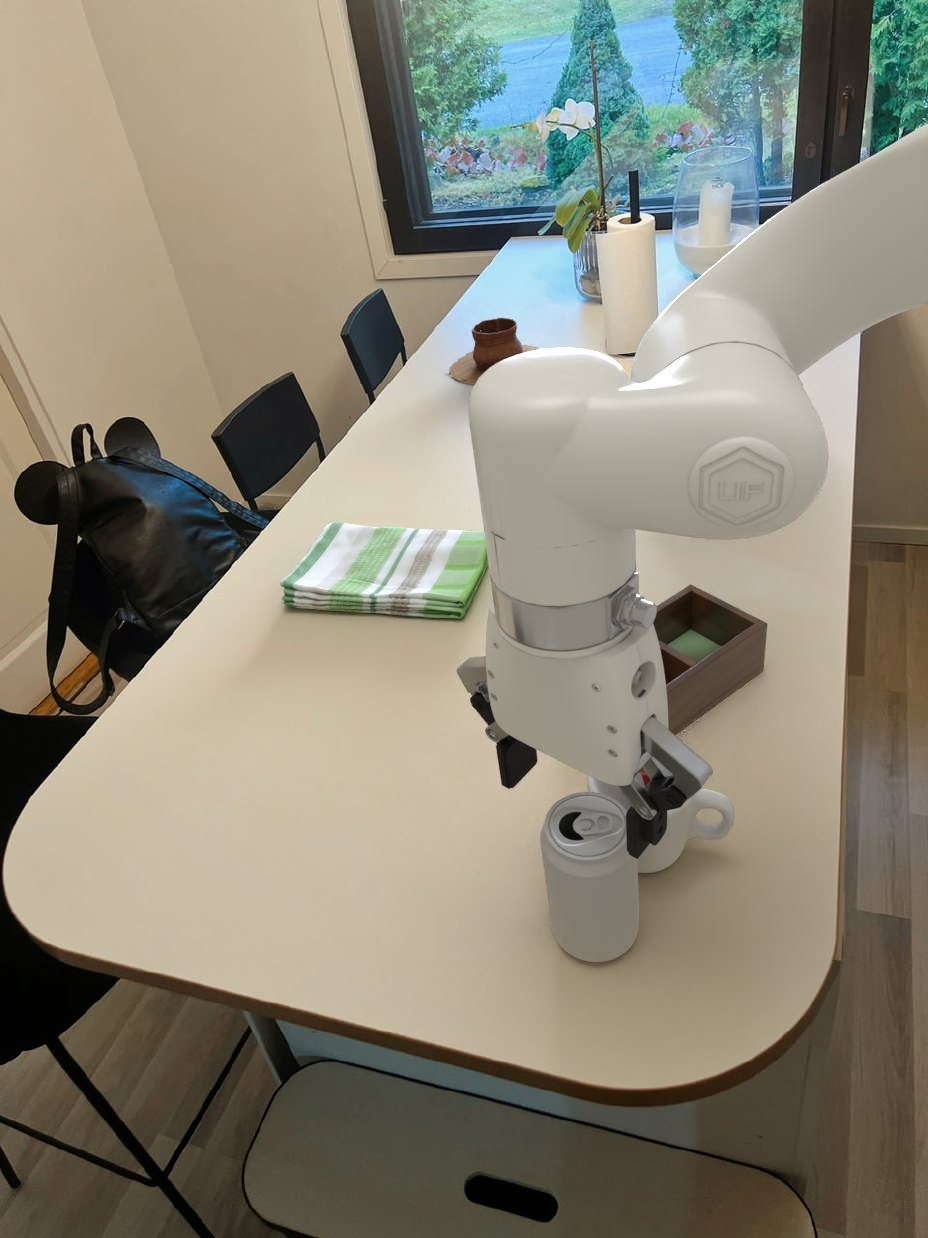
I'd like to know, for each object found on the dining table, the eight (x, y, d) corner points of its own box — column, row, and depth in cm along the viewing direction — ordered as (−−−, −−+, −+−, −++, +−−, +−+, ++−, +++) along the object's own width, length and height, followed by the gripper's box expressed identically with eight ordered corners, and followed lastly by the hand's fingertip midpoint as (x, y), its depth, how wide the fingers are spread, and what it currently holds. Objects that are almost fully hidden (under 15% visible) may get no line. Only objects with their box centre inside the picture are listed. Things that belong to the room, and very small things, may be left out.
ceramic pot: (439, 359, 160) (433, 321, 155) (530, 337, 162) (527, 299, 158) (464, 394, 145) (458, 353, 141) (564, 369, 148) (561, 328, 143)
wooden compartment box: (763, 670, 83) (767, 623, 80) (631, 766, 76) (630, 719, 73) (689, 629, 90) (690, 583, 86) (561, 714, 83) (556, 668, 79)
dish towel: (334, 533, 115) (328, 510, 113) (502, 538, 109) (499, 513, 106) (279, 612, 103) (271, 588, 100) (466, 623, 96) (461, 597, 94)
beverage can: (550, 893, 67) (536, 789, 60) (635, 889, 66) (630, 783, 59) (554, 970, 62) (538, 866, 55) (645, 966, 61) (641, 861, 54)
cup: (733, 816, 70) (738, 747, 66) (729, 900, 65) (734, 831, 60) (600, 800, 74) (595, 733, 69) (584, 879, 68) (578, 812, 63)
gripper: (752, 606, 43) (732, 828, 53) (482, 518, 53) (510, 720, 63) (674, 694, 39) (669, 917, 49) (398, 580, 49) (442, 786, 59)
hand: (579, 806), depth 56 cm, fingers open, 9 cm apart
